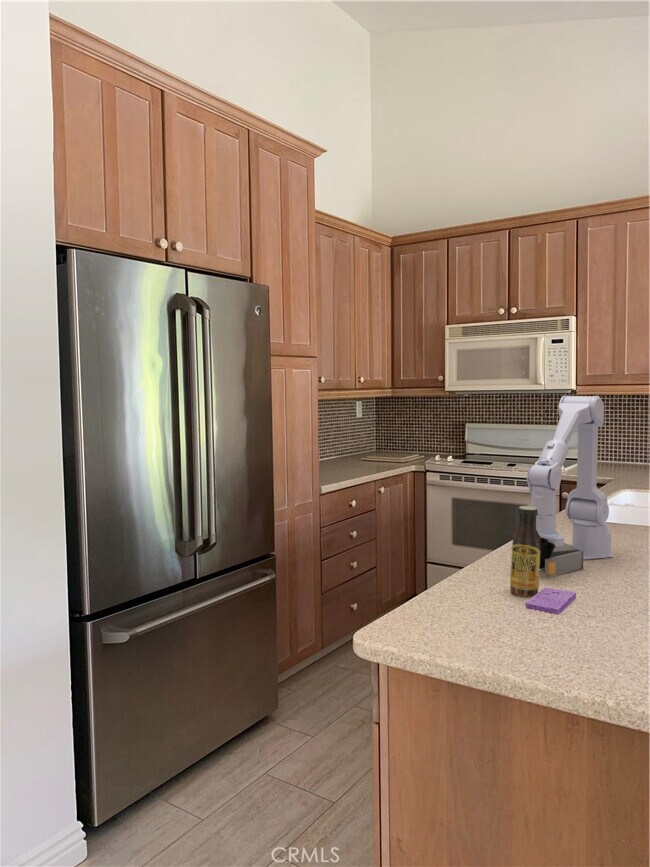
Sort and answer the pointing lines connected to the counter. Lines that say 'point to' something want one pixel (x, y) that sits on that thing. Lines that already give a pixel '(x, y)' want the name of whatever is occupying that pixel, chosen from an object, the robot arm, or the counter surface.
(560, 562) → the side door
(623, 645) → the counter surface
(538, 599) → the sponges
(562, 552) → the camera body
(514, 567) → the sauce bottle
